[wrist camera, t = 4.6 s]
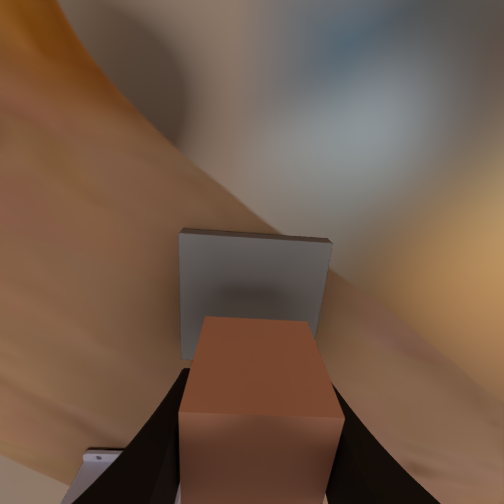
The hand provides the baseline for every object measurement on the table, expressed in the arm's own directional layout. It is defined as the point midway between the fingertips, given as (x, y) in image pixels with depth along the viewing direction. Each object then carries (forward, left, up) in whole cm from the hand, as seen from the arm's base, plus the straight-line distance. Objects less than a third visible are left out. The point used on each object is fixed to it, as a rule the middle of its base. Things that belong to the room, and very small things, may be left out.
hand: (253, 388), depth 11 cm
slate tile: (0, 0, -8) cm, 8 cm away
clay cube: (0, 0, -2) cm, 2 cm away
